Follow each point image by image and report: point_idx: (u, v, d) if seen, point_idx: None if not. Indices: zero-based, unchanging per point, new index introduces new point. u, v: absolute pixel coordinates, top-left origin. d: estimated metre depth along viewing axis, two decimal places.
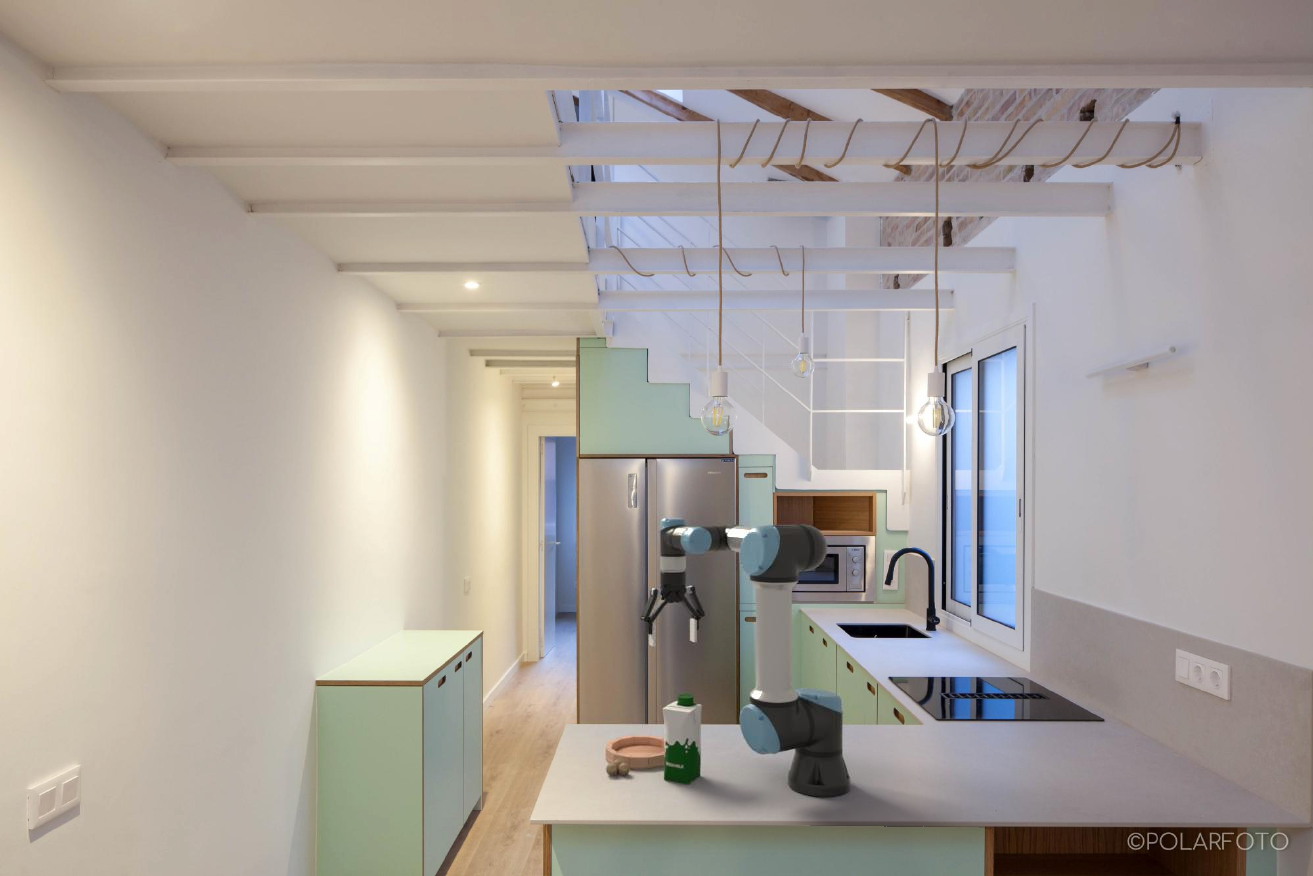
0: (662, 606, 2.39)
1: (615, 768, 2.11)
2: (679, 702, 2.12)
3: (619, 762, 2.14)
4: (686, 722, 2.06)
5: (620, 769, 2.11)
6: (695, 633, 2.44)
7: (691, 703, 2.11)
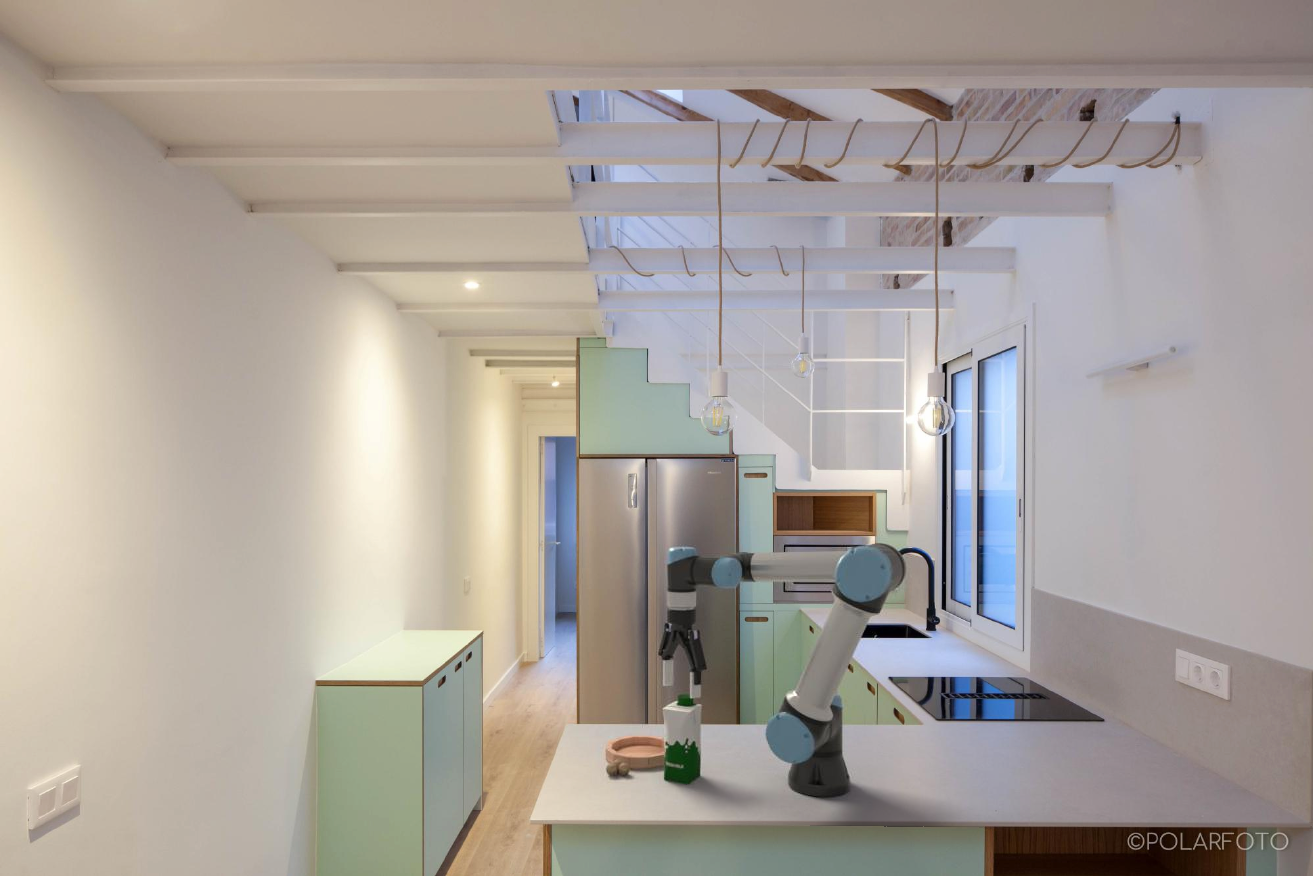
0: (669, 644, 2.15)
1: (615, 768, 2.11)
2: (679, 702, 2.12)
3: (619, 762, 2.14)
4: (686, 722, 2.06)
5: (620, 769, 2.11)
6: (690, 687, 2.05)
7: (691, 703, 2.11)
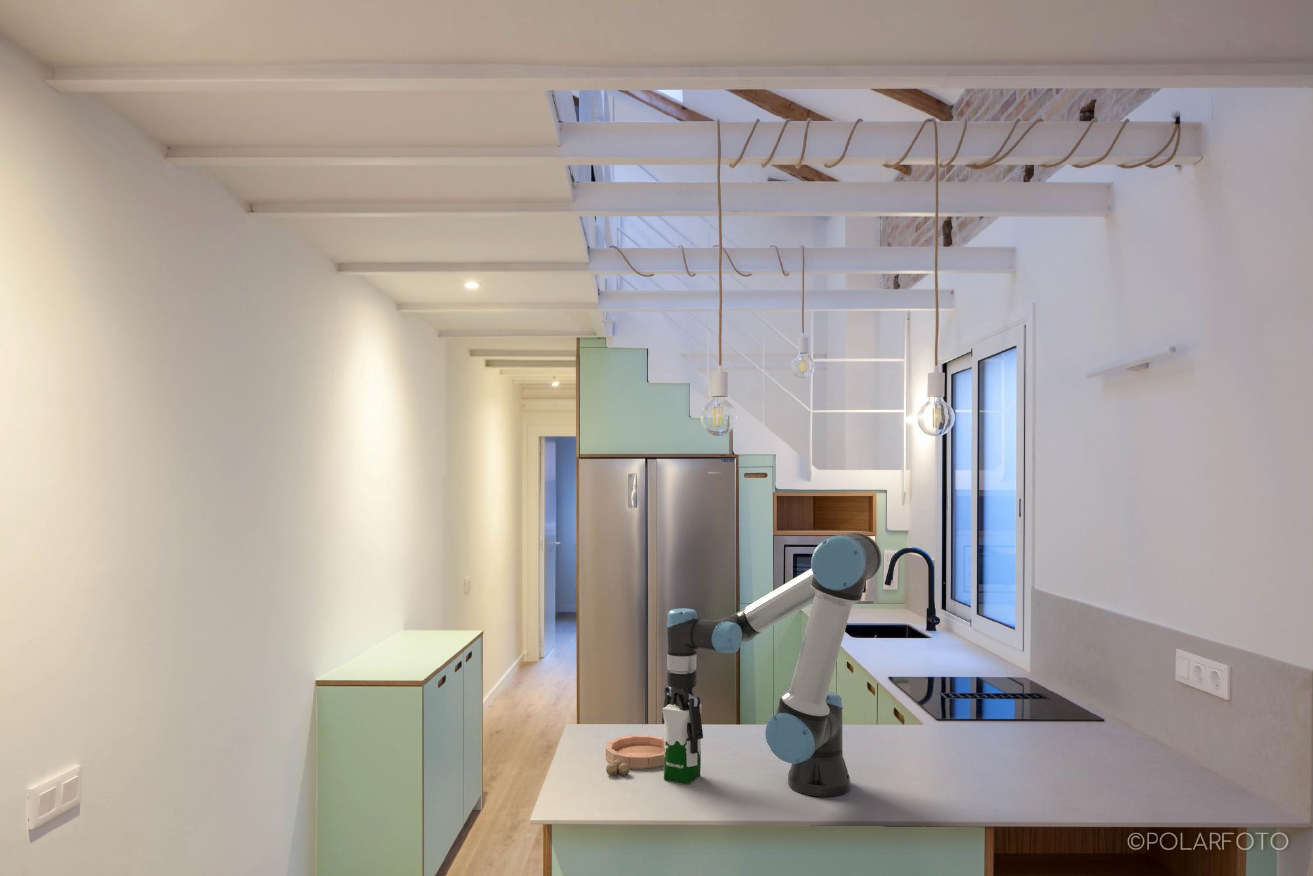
0: None
1: (615, 768, 2.11)
2: None
3: (619, 762, 2.14)
4: (686, 722, 2.06)
5: (620, 769, 2.11)
6: (687, 756, 2.05)
7: None
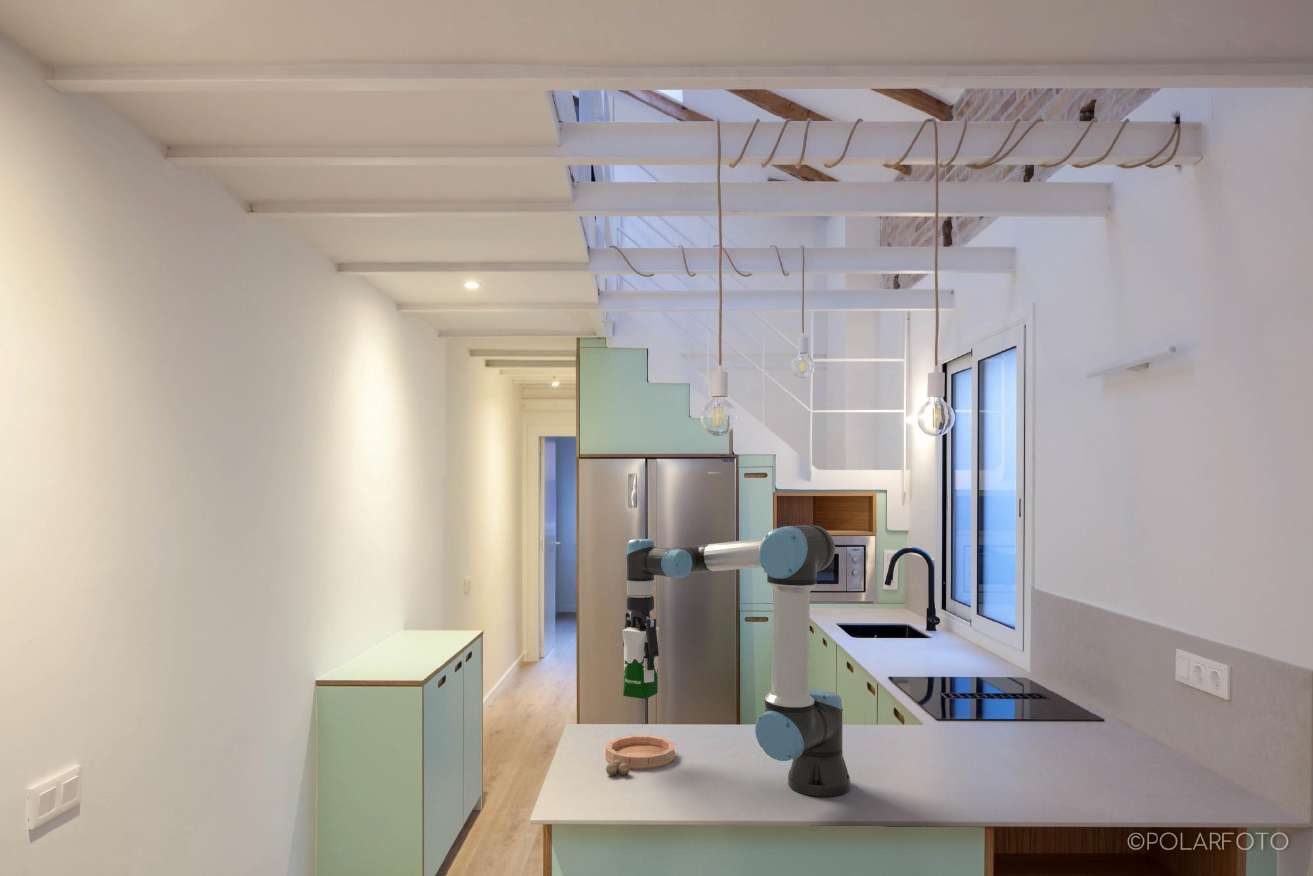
0: None
1: (615, 768, 2.11)
2: None
3: (619, 762, 2.14)
4: (643, 641, 2.22)
5: (620, 769, 2.11)
6: (644, 672, 2.22)
7: None
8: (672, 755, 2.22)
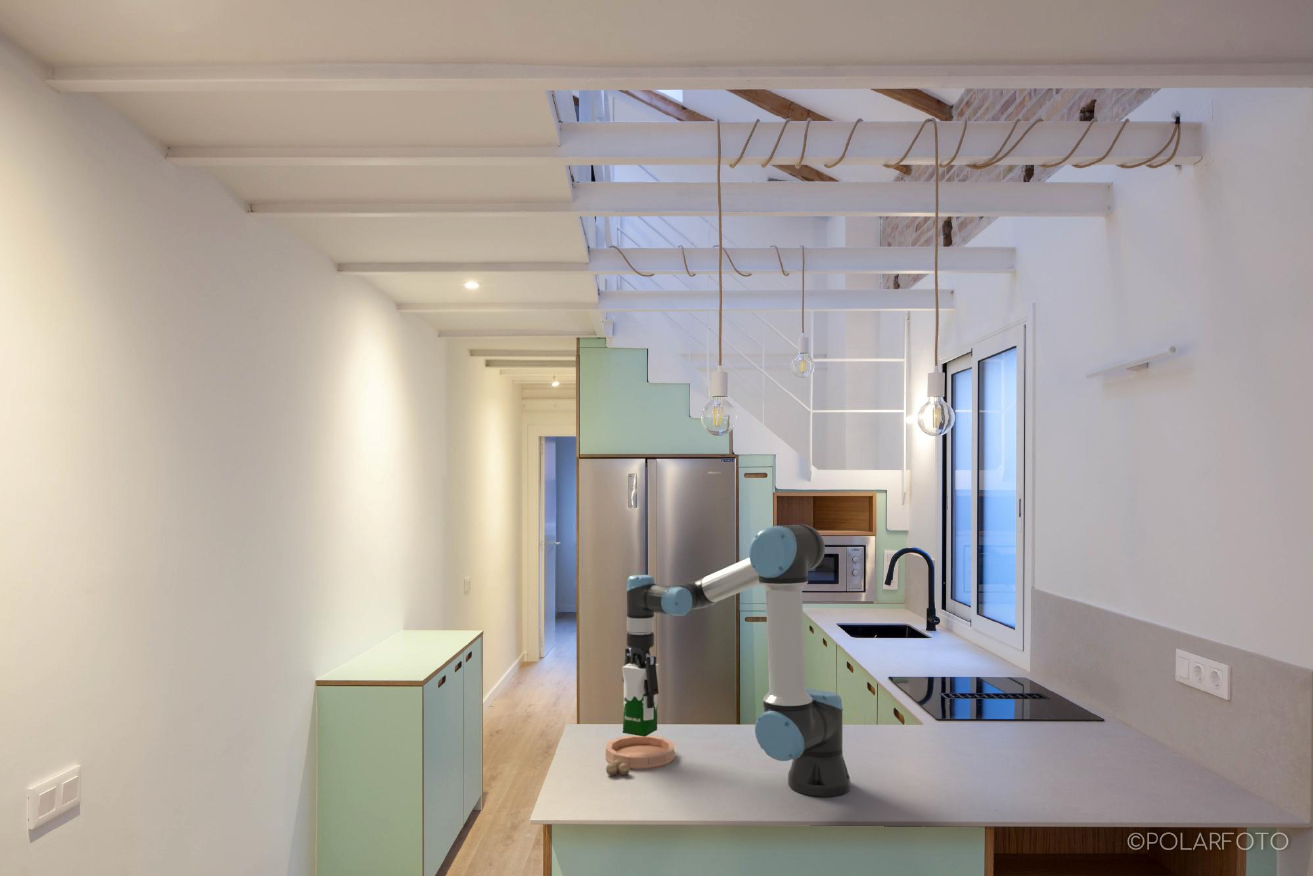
0: None
1: (615, 768, 2.11)
2: None
3: (619, 762, 2.14)
4: (643, 679, 2.22)
5: (620, 769, 2.11)
6: (644, 710, 2.21)
7: None
8: (672, 755, 2.22)
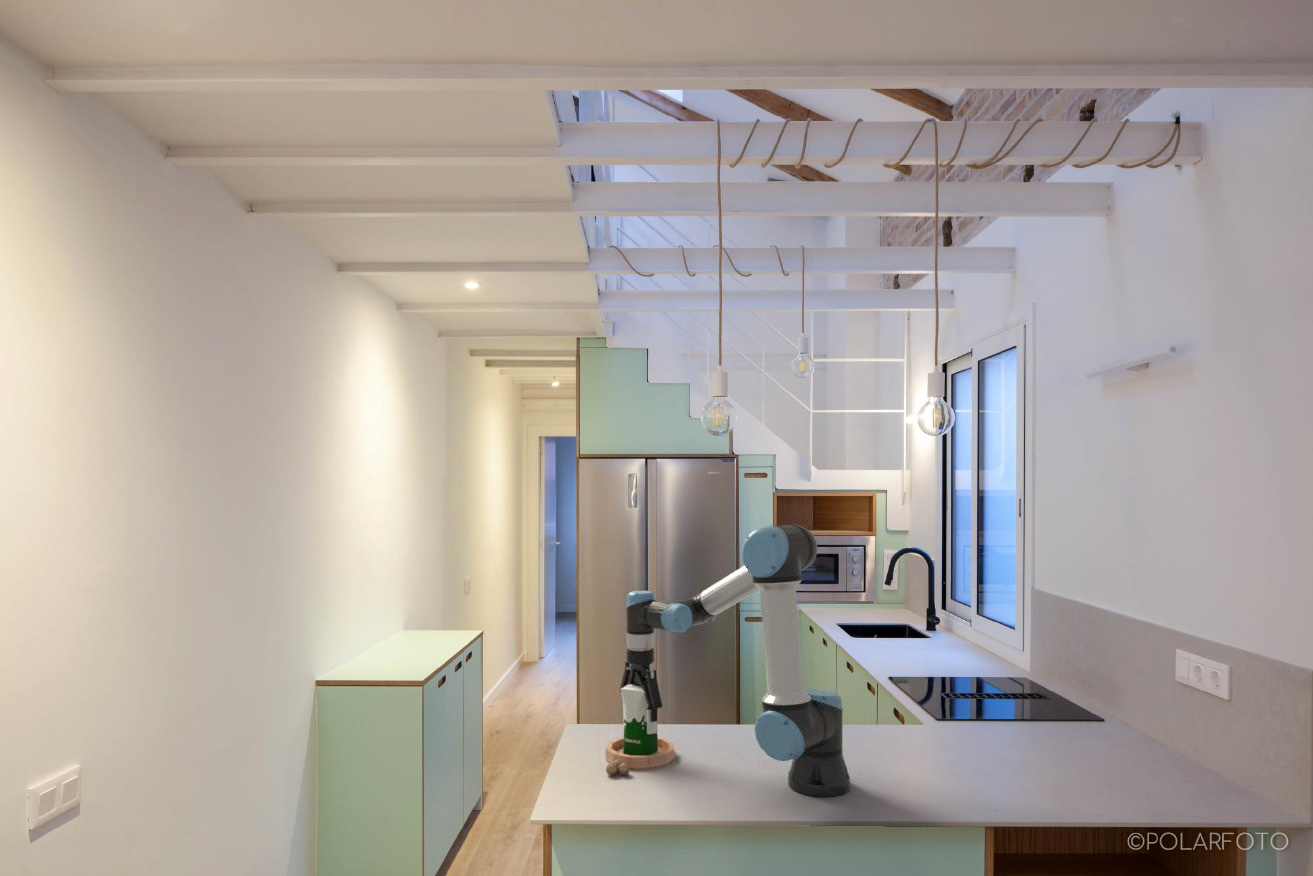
0: (629, 682, 2.29)
1: (615, 768, 2.11)
2: (636, 683, 2.27)
3: (619, 762, 2.14)
4: (642, 700, 2.22)
5: (620, 769, 2.11)
6: (647, 724, 2.19)
7: None
8: (672, 755, 2.22)
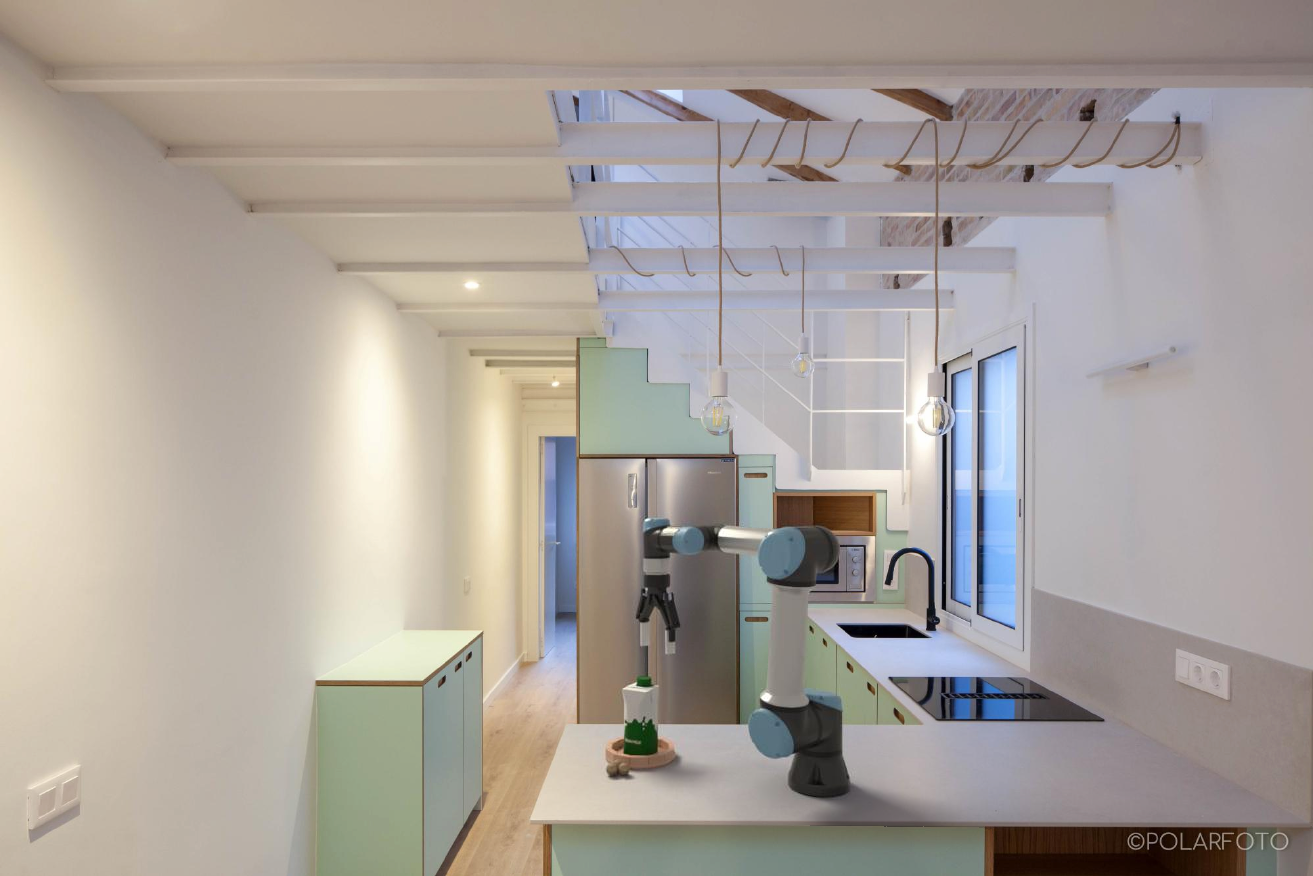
0: (646, 607, 2.35)
1: (615, 768, 2.11)
2: (638, 683, 2.27)
3: (619, 762, 2.14)
4: (643, 701, 2.21)
5: (620, 769, 2.11)
6: (666, 644, 2.25)
7: (649, 684, 2.27)
8: (672, 755, 2.22)
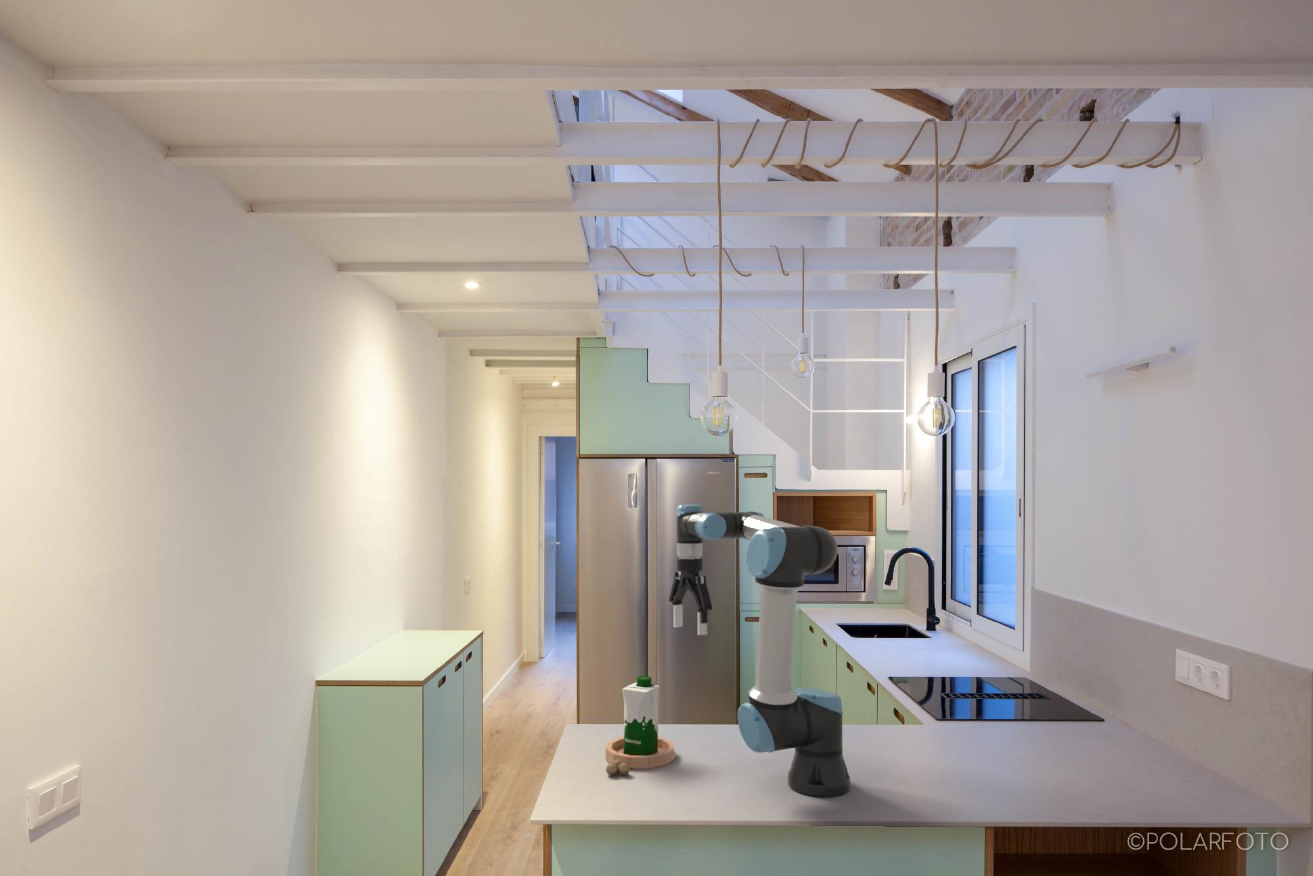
0: (679, 590, 2.44)
1: (615, 768, 2.11)
2: (638, 683, 2.27)
3: (619, 762, 2.14)
4: (643, 701, 2.21)
5: (620, 769, 2.11)
6: (698, 625, 2.34)
7: (649, 684, 2.27)
8: (672, 755, 2.22)
